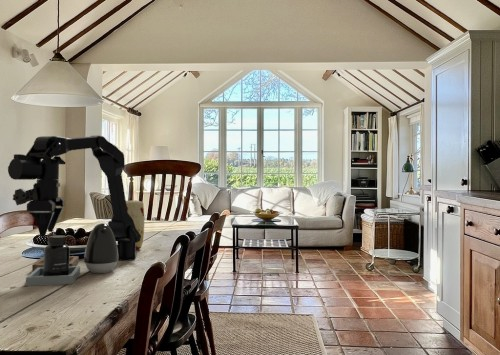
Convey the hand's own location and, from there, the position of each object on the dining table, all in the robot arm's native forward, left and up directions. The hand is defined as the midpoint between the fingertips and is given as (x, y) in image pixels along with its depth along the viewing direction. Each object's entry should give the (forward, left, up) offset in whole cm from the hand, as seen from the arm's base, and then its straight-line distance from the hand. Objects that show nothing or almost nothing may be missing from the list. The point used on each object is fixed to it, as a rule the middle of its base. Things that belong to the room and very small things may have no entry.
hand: (46, 233), depth 118 cm
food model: (-22, -44, -13) cm, 51 cm away
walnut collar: (0, -15, -13) cm, 20 cm away
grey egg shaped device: (-14, -8, -13) cm, 21 cm away
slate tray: (-2, 0, -13) cm, 13 cm away
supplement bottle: (-3, 0, -13) cm, 13 cm away
